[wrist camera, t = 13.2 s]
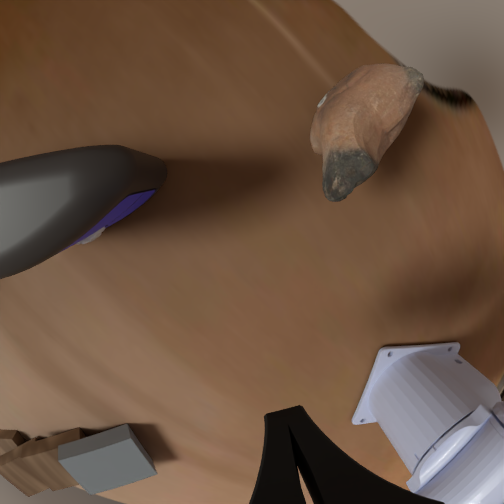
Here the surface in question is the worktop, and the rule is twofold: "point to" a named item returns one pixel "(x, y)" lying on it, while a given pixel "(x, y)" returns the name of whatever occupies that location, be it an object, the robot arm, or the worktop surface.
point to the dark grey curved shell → (69, 199)
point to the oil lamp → (361, 123)
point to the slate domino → (106, 460)
